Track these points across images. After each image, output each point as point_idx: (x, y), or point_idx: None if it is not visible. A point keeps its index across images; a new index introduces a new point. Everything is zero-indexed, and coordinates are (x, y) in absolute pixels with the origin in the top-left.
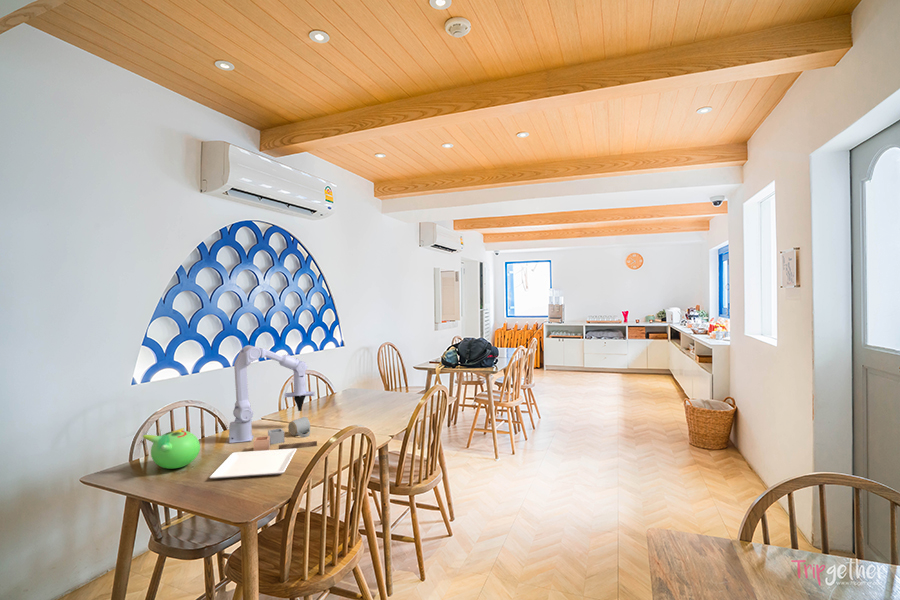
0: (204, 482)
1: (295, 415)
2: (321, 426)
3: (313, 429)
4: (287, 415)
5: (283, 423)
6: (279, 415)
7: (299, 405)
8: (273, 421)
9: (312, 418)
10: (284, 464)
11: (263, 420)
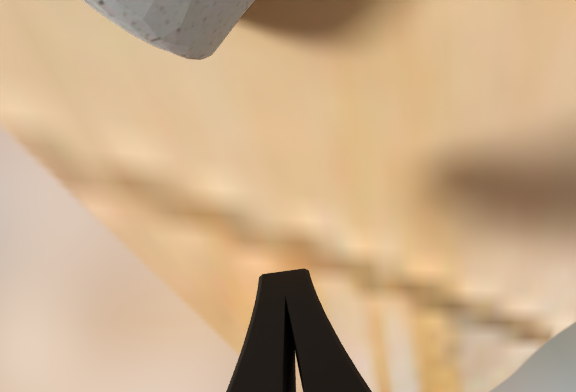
0: None
1: (370, 385)
2: (57, 171)
3: (90, 70)
4: (417, 384)
5: (439, 265)
6: (462, 383)
7: (301, 377)
8: (507, 303)
9: None
10: None
11: (566, 320)
